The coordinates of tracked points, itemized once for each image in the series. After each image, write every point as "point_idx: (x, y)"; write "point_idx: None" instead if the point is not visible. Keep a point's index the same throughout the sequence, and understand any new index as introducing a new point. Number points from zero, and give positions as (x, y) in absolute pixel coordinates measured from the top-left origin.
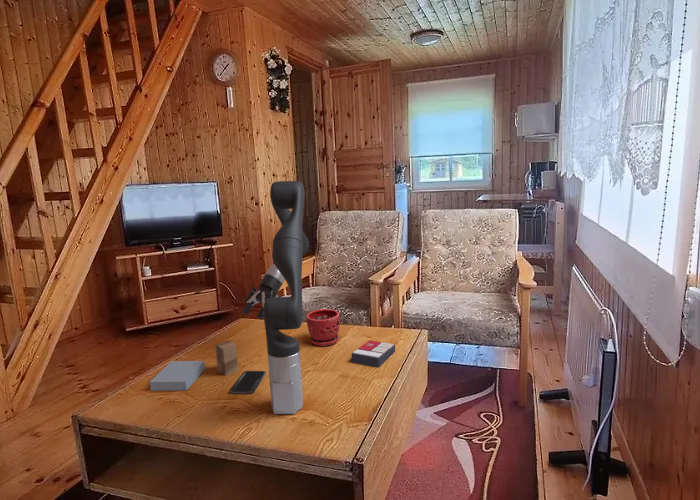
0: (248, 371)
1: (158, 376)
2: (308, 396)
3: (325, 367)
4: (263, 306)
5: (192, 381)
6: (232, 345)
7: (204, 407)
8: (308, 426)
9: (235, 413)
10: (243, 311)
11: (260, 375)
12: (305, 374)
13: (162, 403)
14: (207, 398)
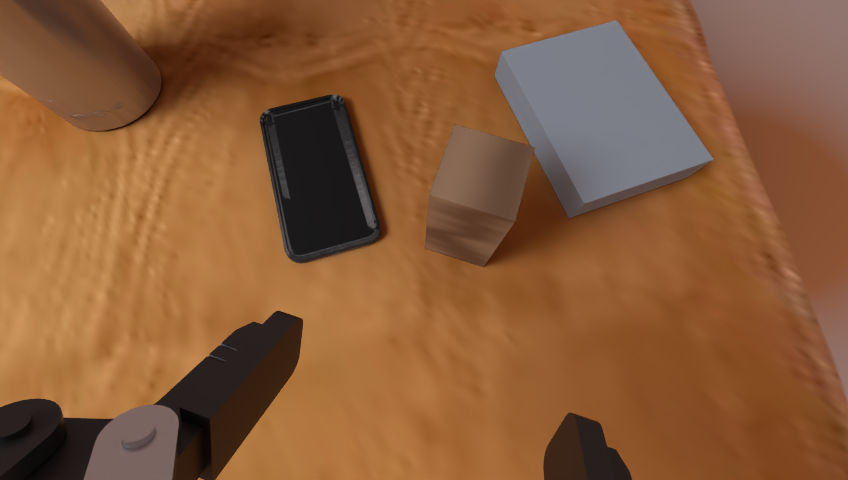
0: (365, 239)
1: (627, 53)
2: (53, 158)
3: None
4: (143, 415)
5: (517, 111)
6: (436, 175)
7: (365, 24)
8: None
9: (257, 25)
10: (581, 418)
11: (295, 225)
12: (108, 310)
13: (499, 9)
14: (392, 60)
